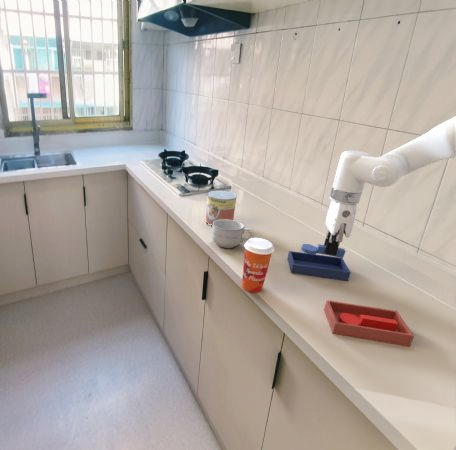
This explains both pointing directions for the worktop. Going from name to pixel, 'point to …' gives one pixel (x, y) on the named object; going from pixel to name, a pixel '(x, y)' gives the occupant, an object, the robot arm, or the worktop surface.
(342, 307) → the red tray
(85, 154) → the worktop surface
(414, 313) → the worktop surface
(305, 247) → the blue spoon
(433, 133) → the robot arm
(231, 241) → the teacup
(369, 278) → the worktop surface
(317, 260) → the blue tray
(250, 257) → the paper cup
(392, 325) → the red spoon
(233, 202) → the canned food
